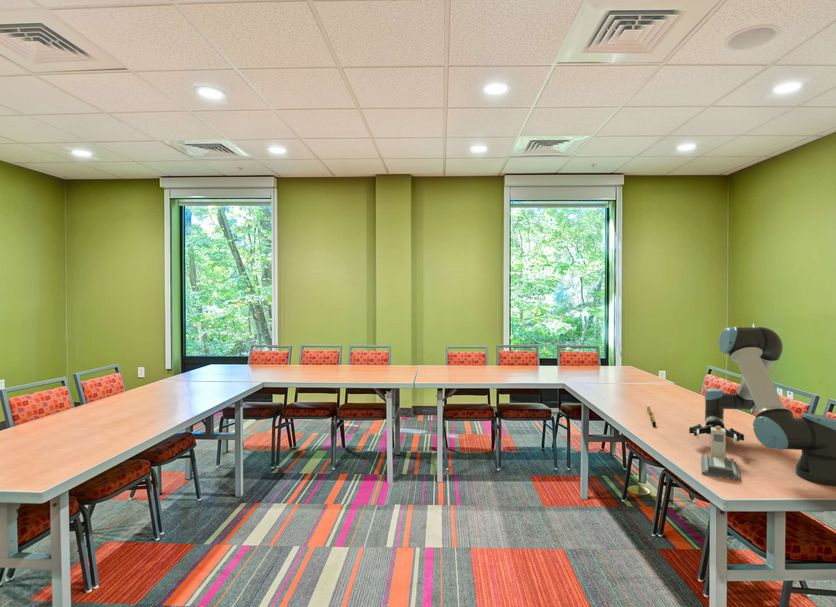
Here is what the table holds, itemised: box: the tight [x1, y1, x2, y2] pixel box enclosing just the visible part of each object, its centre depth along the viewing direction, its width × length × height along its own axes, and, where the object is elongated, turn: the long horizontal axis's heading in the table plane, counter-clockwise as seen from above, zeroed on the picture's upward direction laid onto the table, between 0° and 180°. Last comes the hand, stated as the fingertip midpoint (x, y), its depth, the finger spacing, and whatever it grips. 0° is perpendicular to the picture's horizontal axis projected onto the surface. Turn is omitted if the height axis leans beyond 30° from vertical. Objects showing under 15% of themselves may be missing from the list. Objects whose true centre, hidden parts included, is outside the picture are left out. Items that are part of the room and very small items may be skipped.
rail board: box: [700, 454, 741, 481], centre depth 173 cm, size 12×19×3 cm, turn 148°
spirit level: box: [646, 406, 657, 428], centre depth 244 cm, size 33×1×3 cm, turn 157°
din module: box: [710, 426, 727, 460], centre depth 185 cm, size 5×5×13 cm
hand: (716, 438), depth 189 cm, fingers open, 13 cm apart
